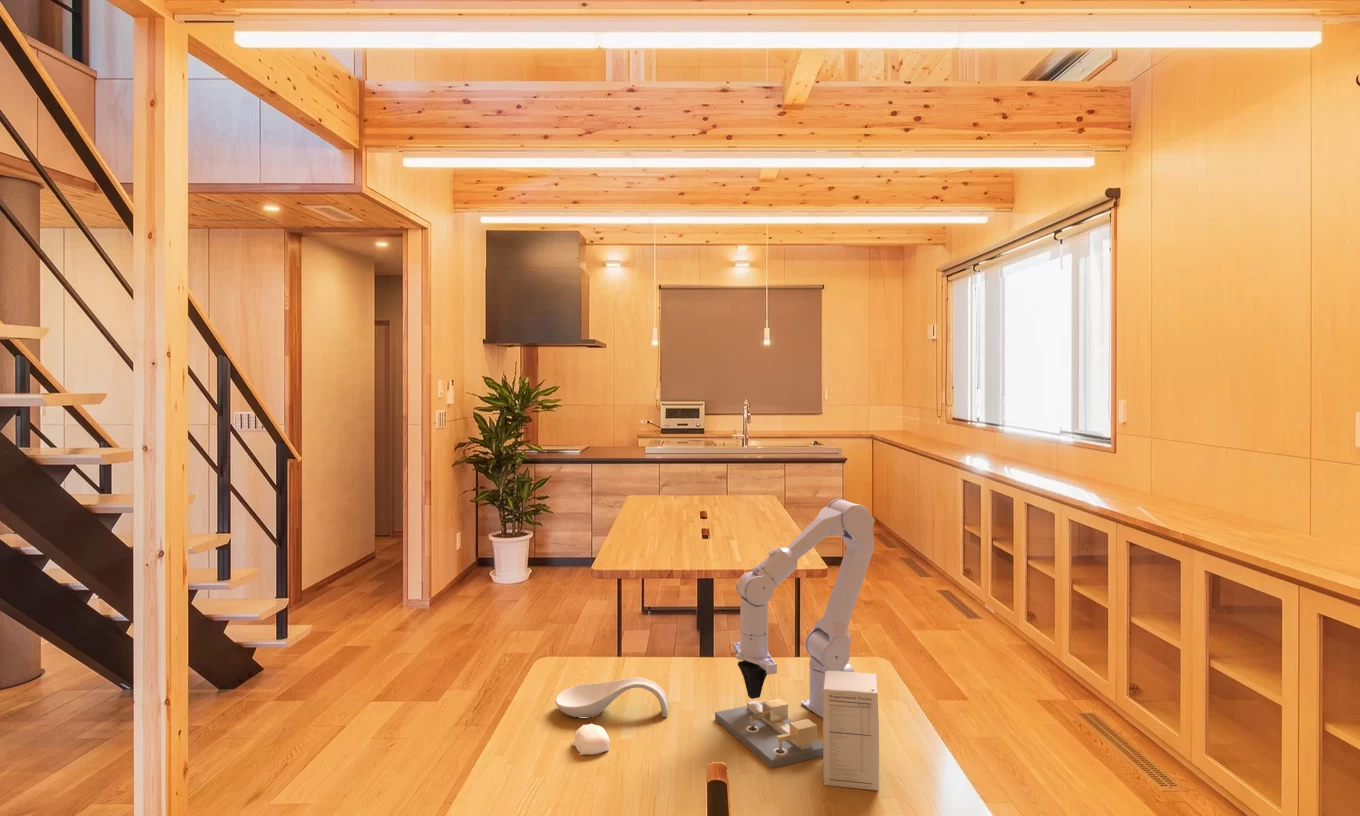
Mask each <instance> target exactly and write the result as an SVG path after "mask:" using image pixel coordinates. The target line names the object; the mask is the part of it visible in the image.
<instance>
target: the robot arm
mask: <svg viewBox="0 0 1360 816" xmlns="http://www.w3.org/2000/svg"><path fill="white" fill-rule="evenodd" d="M875 522H876V521H875V518H874V517H873V516H872V514H871V512H870V511H869V509H868V508H867V507H866V506H864V505H862V504H858V503H854V502H850V501H848V500H846V499H844V498H835V499H833V500H831V501H830V502H829V503H828V505H826V506H824V507H823V508H822V509H820V511H819V513H818V514H817V516H816V517H815V518H814V519H813V520H812V521H811V522H810V523H809V524H808V525H807V526H806V527H805V528H804V529H803V530H802V531H801V532H800V533H799V534H798V535H797V536H796V537H795V538H794V539H793V540H792V541H791V542H790V543H789V544H788V545H787V546H786V547H777V548H775V549H773V548H771V549H770V550H769V551H768V554H769V555H768V556H766V558H764V559H763V561H761V562H760V563H759V564H758V565H757V566H756V565H754V566H752V568H751V570H752V571H749V572H745V573H744V574H742V575H741V576H740V577H739V579H738V582H737V584H736V585H735V589H736V591H737V594H738V595H739V597H740V610H739V612H740V613H739V614H740V615H739V616H740V617H739V619H740V621H739V626H740V629H739V630H740V631H739V632H740V641H737V642H733V643H732V652H733V653H734V654H735V658H736V659H737V660H738V662H737V666H738V668H739V670H740V672H741V674H742V677H743V680H744V684H745V687H746V692H747V696H748V698H749V699H751V700H753V699H758V698H760V697H761V694H762V690H763V686H764V683H765V680H766V678H767V676H769V675H775V674H777V673H778V664H777V662H775V661H774V659H773V657H772V656H771V654H770V652H769V603H768V602H770V601H771V600H772V597H773V594H774V591H775V589H776V588H777V587H778V586H780V585H781V583H782V582H784V581H786V579H787V578H788V577H790V575H791V574H792V573H794V572H795V571H796V570H797V568H798V560H799V559H800V558H802V557H803V556H804V555H806V554H807V553H808V552H809V551H811V550H812V549H813V548H814V547H816V546H817V545H818V544H819V543H820V542H822V541H823V540H824V539H825V538H827V537H836V536H840V537H841V539H842V541H843V542H844V544H845V546H846V547H845V548H846V549H845V550H844V551H845V552H844V555H843V557H842V560H841V563H840V567H839V569H838V573H837V574H836V575H837V576H836V579H835V581H834V585H833V587H832V591H831V592H830V596H829V599H828V601H827V602H828V603H827V604H826V607H825V611H824V614H823V616H822V617H820V618H819V619H818V620H816V621H815V623H814V626H813V628H812V630H811V631H810V632H809V633H808V634H807V635H806V637H805V641H804V648H805V651H806V653H807V654H808V655H809V671H808V672H809V673H808V675H809V681H808V682H809V683H808V684H809V691H808V692H809V693H808V694H809V698H808V699H806V700H805V699H804V700H801V702H800V704H801V705H802V706H804V707H805V708H807V709H808V710H810V711H811V712H813V713H814V714H816V715H817V716H819V717H820V718H823V688H824V681H825V672H826V670H829V671H844V672H855V670H854V668H853V667H852V666H851V664H849V662H850V657H851V655H850V644H851V642H852V638H851V634H850V633H851V632H850V630H849V625H850V622H851V619H852V616H853V613H854V610H855V607H856V604H857V601H858V598H859V595H860V593H861V589H862V586H863V583H864V581H865V577H866V574H867V572H868V568H869V565H870V563H871V560H872V556H873V553H874V551H875V539H874V537H875V536H874V529H873V528H874V525H875V524H874V523H875Z"/></svg>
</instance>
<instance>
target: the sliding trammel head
mask: <svg viewBox="0 0 1360 816" xmlns="http://www.w3.org/2000/svg"><path fill="white" fill-rule="evenodd" d="M761 703H762V712H761V713H756V714H751V715H750V719H751V720H752V730H754V729H755V720H757V719H761V718H765V719H766V720H767V721H768V722H770V723H773V722H777V721H782V720H787V719H789V704H788V703H787V702H786V701H784V700H783V699H781V698H775V699H774V698H773V699H770V700H765V701H762V702H761Z"/></svg>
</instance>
